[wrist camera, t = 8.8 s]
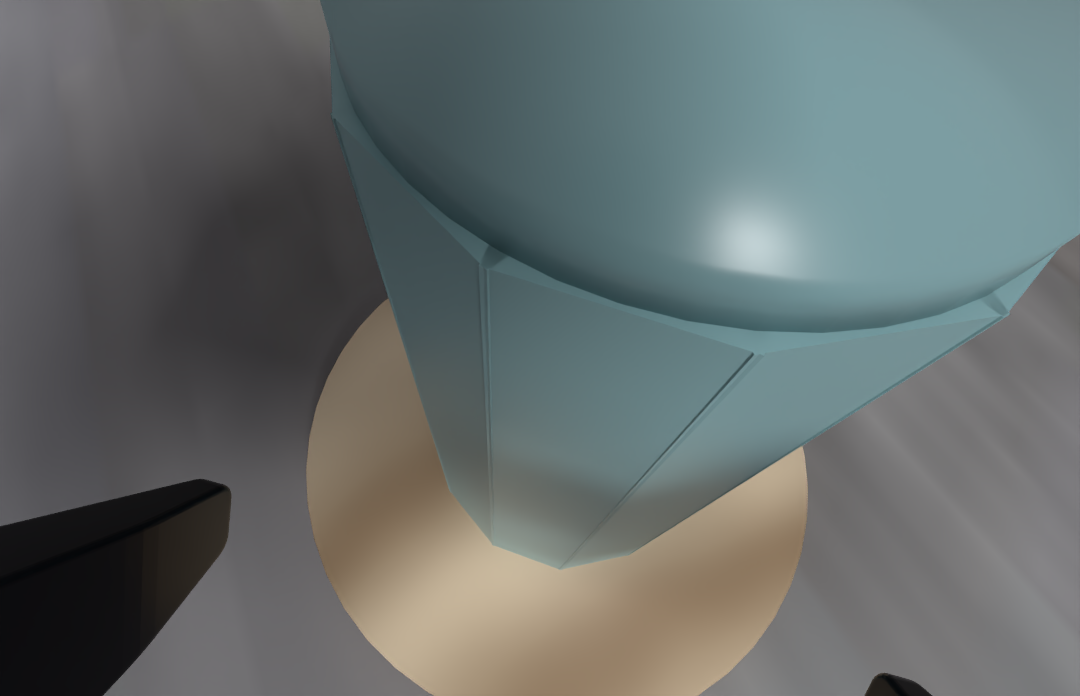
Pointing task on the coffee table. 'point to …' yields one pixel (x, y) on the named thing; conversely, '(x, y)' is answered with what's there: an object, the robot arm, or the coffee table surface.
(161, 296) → the coffee table surface
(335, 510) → the oak plate
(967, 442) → the coffee table surface
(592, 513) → the teal domed canister
